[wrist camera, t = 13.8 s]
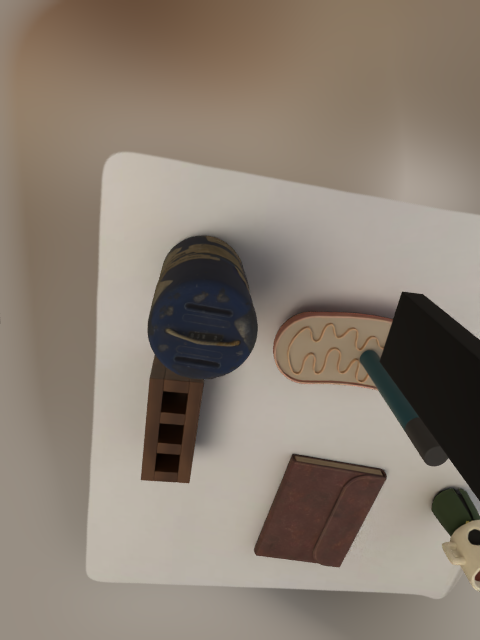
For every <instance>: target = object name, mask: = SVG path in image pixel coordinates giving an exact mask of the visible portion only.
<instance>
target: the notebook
mask: <svg viewBox="0 0 480 640" xmlns="http://www.w3.org/2000/svg"><path fill="white" fill-rule="evenodd" d="M386 477H387V475H386V473H385V472H384V471H383V470H382V469H378V468H372V467H366V466H360V465H354V464H349V463H343V462H337V461H331V460H325V459H319V458H313V457H308V456H302V455H296V454H293V455H292V457H291V459H290V462H289V464H288V467H287V469H286V472H285V474H284V477H283V479H282V481H281V484H280V486H279V489H278V491H277V494H276V496H275V499H274V501H273V504H272V506H271V509H270V511H269V514H268V516H267V518H266V521H265V523H264V526H263V528H262V531H261V533H260V536H259V538H258V541H257V543H256V546H255V548H254V552H255V554H256V555H257V556H265V557H273V558H281V559H288V560H296V561H304V562H312V563H319V564H321V565H324V566H332V567H340V566H341V564H342V562H343V560H344V558H345V556H346V554H347V552H348V550H349V548H350V547H351V545H352V543H353V541H354V539H355V537H356V535H357V533H358V531H359V529H360V527H361V526H362V524H363V522H364V520H365V518H366V516H367V514H368V512H369V510H370V508H371V507H372V505H373V503H374V501H375V499H376V497H377V495H378V493H379V491H380V489H381V487H382V486H383V484H384V482H385V480H386Z"/></svg>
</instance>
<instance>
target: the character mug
mask: <svg viewBox="0 0 480 640" xmlns="http://www.w3.org/2000/svg"><path fill="white" fill-rule="evenodd" d="M459 491H460V492H461V494H462V495H459V494H456V492H455V491H454V489H452V488H451V489H448V490H445V491H442V492H441V493H440V494H438V495H437V496H436V497H435V499H434V501H433V503H432V512H433V513H434V515H435V516H436V518H437V519H438V521H439V522H440V523H441V525H442V526H443V527H444V528H445V530H446V531H447V532H448V533H449V535H450V536H451V538H450V542H445V543H443V544H442V548H443V550H444V552H445V554H446V556H447V557H448V559H449V561H450V562H451V563H452V564H453V565H460V566H461V568H462V569H463V571H464V573H465V575H466V576H467V578H468V580H469V582H470V583H471V585H472V586H473V588H474V589H476V590H477V591H479V592H480V516H479V514H478V512H477V510H476V508H475V506H474V504H473V502H472V501H471V499H470V497H469V495H468V494H467V492H466V491H464V490H462V489H459Z"/></svg>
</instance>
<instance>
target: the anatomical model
mask: <svg viewBox="0 0 480 640" xmlns="http://www.w3.org/2000/svg"><path fill="white" fill-rule="evenodd" d="M392 321H393V319H390V318H385V317H380V316H374V315H367V314H359V313H346V312H304V313H300V314H297V315H295V316H293V317H291V318H290V319H288V320H287V321H286V322H285V323H284V324H283V325H282V326H281V327H280V329H279V331H278V332H277V335H276V337H275V340H274V346H273V353H274V359H275V362H276V365H277V367H278V369H279V371H280V372H281V373H282V374H283V375H284V376H285V377H286V378H288V379H290V380H292V381H294V382H297V383H301V384H338V385H350V386H358V387H364V388H370V389H374V390H378V389H377V387H376V386H375V384H374V383H373V381H372V380H371V378H370V376H369V375H368V373H367V372H366V370H365V369H364V367H363V366H362V364H361V362H360V356H361V355H362V353H363V352H365V351H367V350H373V351H375V352H376V353H377V354H378V355H379V357H380V358H381V355H382V352H383V349H384V346H385V343H386V340H387V337H388V333H389V330H390V327H391V324H392ZM378 391H379V390H378Z"/></svg>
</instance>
